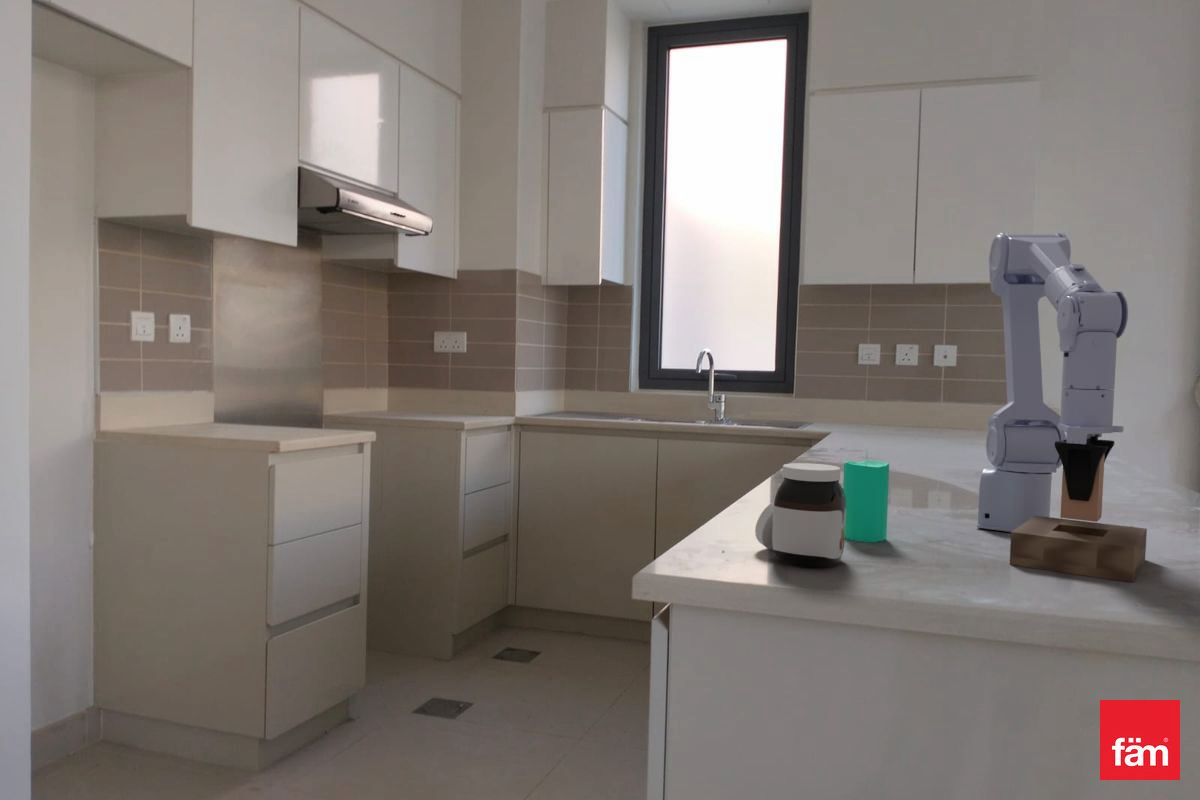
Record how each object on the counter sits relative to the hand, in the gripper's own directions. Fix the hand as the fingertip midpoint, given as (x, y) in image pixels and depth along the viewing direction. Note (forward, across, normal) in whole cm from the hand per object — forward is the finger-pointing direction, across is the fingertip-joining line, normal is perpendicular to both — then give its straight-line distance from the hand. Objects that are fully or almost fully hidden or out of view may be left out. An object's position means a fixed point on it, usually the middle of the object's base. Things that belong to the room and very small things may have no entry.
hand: (1082, 498), depth 110 cm
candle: (+8, -4, +26) cm, 28 cm away
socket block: (+8, 0, 0) cm, 8 cm away
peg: (+2, 0, 0) cm, 2 cm away
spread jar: (+8, -22, +28) cm, 37 cm away
